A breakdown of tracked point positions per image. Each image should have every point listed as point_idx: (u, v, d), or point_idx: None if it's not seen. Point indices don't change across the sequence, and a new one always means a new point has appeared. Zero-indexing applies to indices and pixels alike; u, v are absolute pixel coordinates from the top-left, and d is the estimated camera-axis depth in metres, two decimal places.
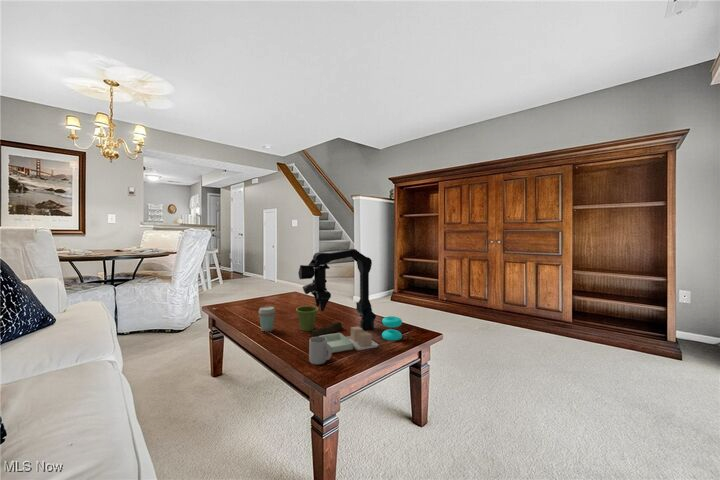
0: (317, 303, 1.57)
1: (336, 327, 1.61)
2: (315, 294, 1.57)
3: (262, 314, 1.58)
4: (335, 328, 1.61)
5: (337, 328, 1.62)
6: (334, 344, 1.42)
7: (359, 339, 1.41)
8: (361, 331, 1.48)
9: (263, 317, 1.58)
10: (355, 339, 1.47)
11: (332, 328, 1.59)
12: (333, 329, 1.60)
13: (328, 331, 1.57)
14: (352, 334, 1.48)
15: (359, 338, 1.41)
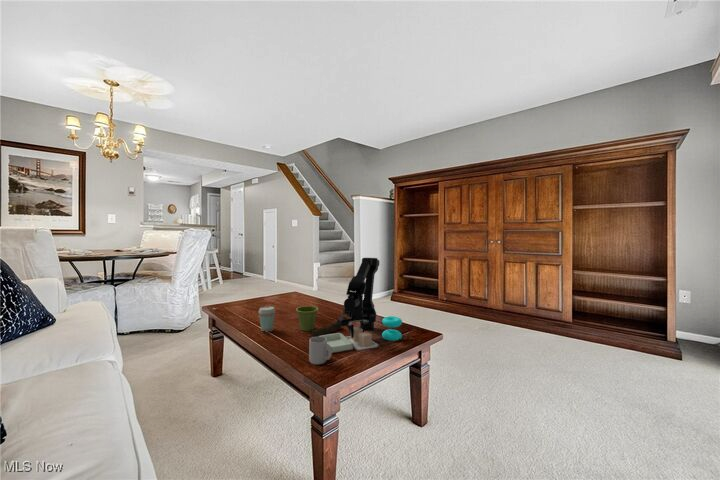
0: None
1: (336, 327, 1.62)
2: (360, 323, 1.52)
3: (262, 314, 1.58)
4: (335, 328, 1.61)
5: (336, 328, 1.62)
6: (334, 344, 1.42)
7: (359, 339, 1.41)
8: (361, 331, 1.48)
9: (263, 317, 1.58)
10: (355, 339, 1.47)
11: (332, 328, 1.60)
12: (333, 329, 1.60)
13: (328, 331, 1.58)
14: None
15: (359, 338, 1.41)
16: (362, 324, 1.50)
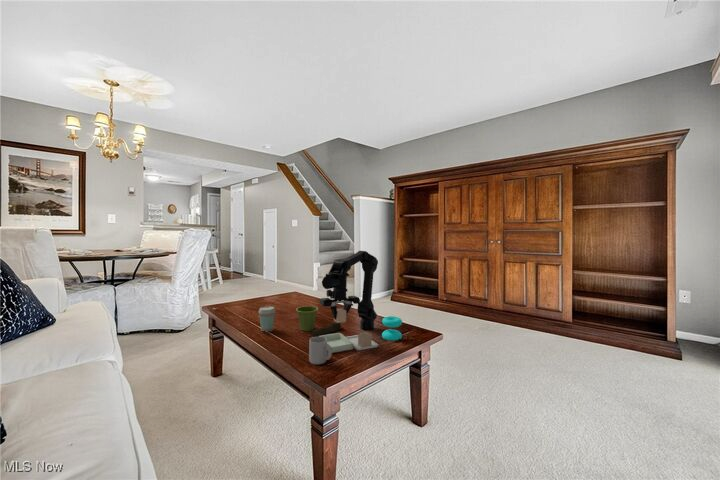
0: None
1: (336, 327, 1.62)
2: (344, 304, 1.48)
3: (262, 314, 1.58)
4: (335, 328, 1.61)
5: (336, 328, 1.62)
6: (334, 344, 1.42)
7: (359, 339, 1.41)
8: (344, 312, 1.45)
9: (263, 317, 1.58)
10: (338, 320, 1.43)
11: (332, 328, 1.60)
12: (333, 329, 1.60)
13: (328, 331, 1.58)
14: None
15: (359, 338, 1.41)
16: (346, 306, 1.47)
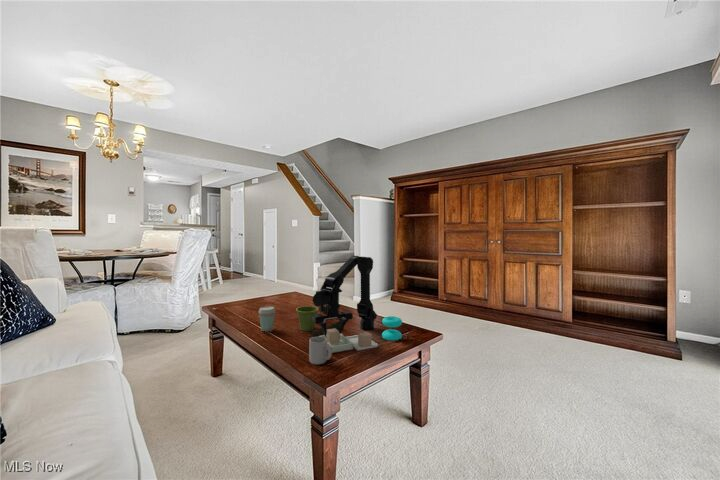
0: (339, 330, 1.47)
1: (335, 326, 1.62)
2: (339, 320, 1.48)
3: (262, 314, 1.58)
4: (334, 327, 1.61)
5: (336, 327, 1.63)
6: (334, 344, 1.42)
7: (359, 339, 1.41)
8: (337, 333, 1.44)
9: (263, 317, 1.58)
10: (331, 342, 1.43)
11: (332, 328, 1.60)
12: None
13: None
14: (328, 336, 1.45)
15: (359, 338, 1.41)
16: (341, 321, 1.47)
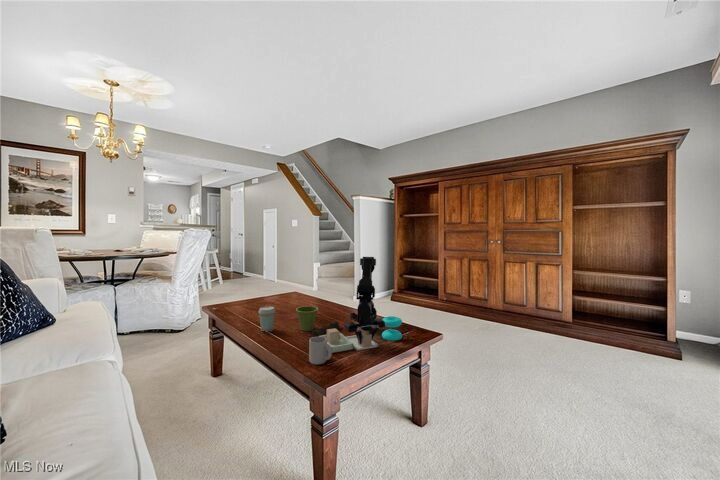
0: None
1: (334, 326, 1.63)
2: (369, 328, 1.44)
3: (262, 314, 1.58)
4: (333, 327, 1.62)
5: (335, 327, 1.63)
6: (334, 344, 1.42)
7: None
8: (337, 333, 1.44)
9: (263, 317, 1.58)
10: (331, 342, 1.43)
11: (331, 327, 1.60)
12: (332, 328, 1.61)
13: None
14: (328, 336, 1.45)
15: None
16: (371, 330, 1.42)
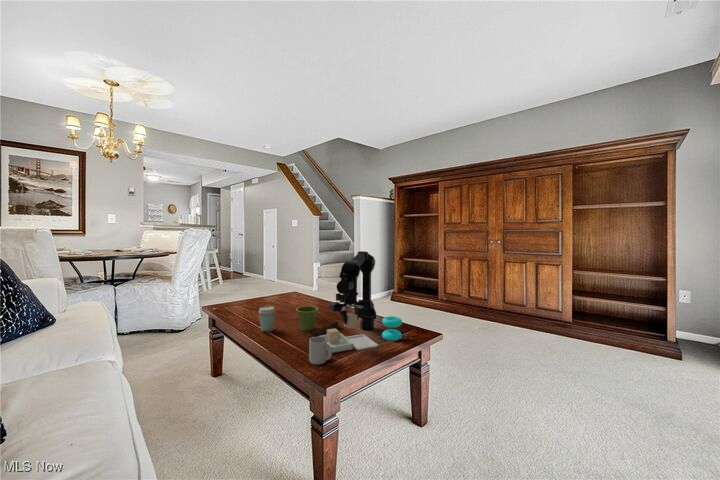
0: None
1: (334, 326, 1.63)
2: (355, 309, 1.41)
3: (262, 314, 1.58)
4: (333, 327, 1.62)
5: (335, 327, 1.63)
6: (334, 344, 1.42)
7: None
8: (337, 333, 1.44)
9: (263, 317, 1.58)
10: (331, 342, 1.43)
11: (331, 327, 1.60)
12: (332, 328, 1.61)
13: None
14: (328, 336, 1.45)
15: None
16: (356, 310, 1.40)
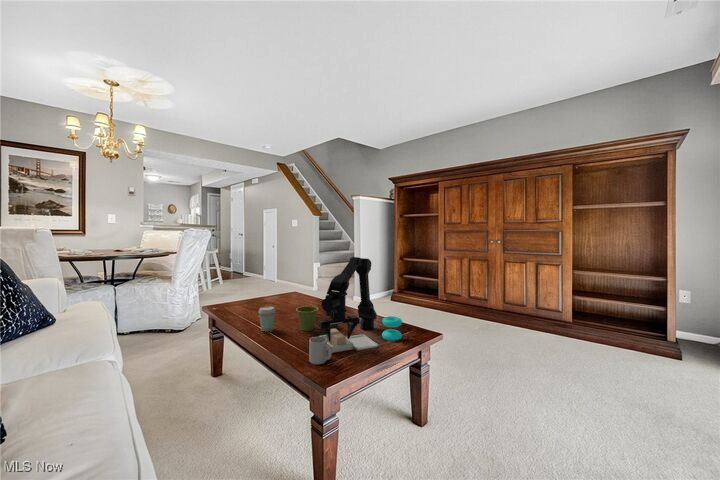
0: (347, 335, 1.40)
1: (334, 326, 1.63)
2: (348, 324, 1.41)
3: (262, 314, 1.58)
4: (333, 327, 1.62)
5: (334, 327, 1.64)
6: None
7: (333, 341, 1.38)
8: (337, 333, 1.44)
9: (263, 317, 1.58)
10: (331, 342, 1.43)
11: (330, 327, 1.60)
12: (331, 328, 1.61)
13: None
14: None
15: (333, 340, 1.38)
16: (349, 326, 1.40)
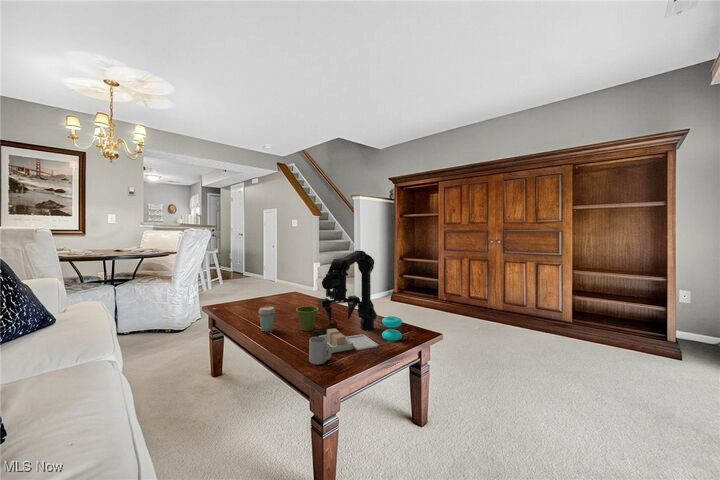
0: (348, 315, 1.43)
1: (333, 326, 1.63)
2: (348, 304, 1.44)
3: (262, 314, 1.58)
4: (332, 327, 1.62)
5: (334, 327, 1.64)
6: None
7: (333, 341, 1.38)
8: (337, 333, 1.44)
9: (263, 317, 1.58)
10: (331, 342, 1.43)
11: (330, 327, 1.61)
12: (331, 328, 1.61)
13: None
14: (328, 336, 1.45)
15: (333, 340, 1.38)
16: (350, 306, 1.43)
